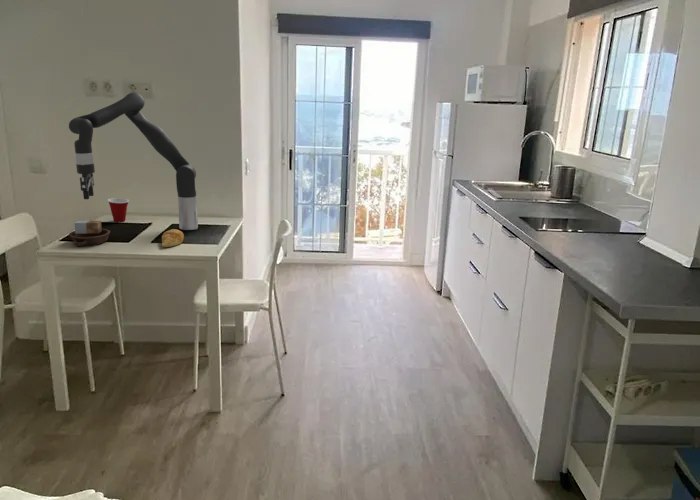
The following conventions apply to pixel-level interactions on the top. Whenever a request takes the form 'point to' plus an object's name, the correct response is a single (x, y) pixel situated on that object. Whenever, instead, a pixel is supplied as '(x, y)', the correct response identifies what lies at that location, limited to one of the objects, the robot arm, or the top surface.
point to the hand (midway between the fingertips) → (88, 197)
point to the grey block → (80, 227)
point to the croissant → (172, 238)
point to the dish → (90, 238)
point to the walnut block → (94, 226)
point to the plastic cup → (118, 208)
